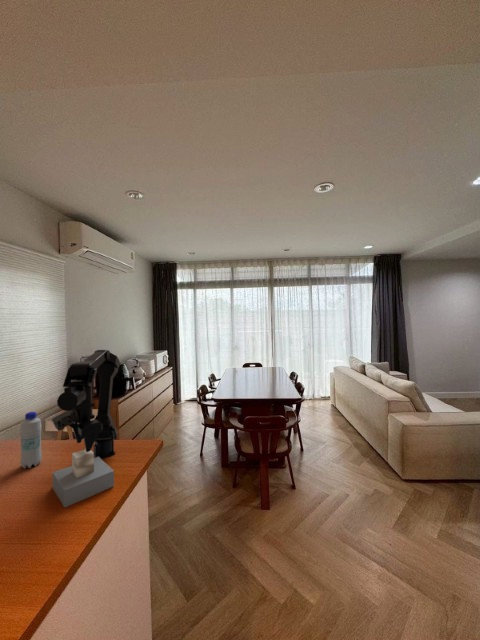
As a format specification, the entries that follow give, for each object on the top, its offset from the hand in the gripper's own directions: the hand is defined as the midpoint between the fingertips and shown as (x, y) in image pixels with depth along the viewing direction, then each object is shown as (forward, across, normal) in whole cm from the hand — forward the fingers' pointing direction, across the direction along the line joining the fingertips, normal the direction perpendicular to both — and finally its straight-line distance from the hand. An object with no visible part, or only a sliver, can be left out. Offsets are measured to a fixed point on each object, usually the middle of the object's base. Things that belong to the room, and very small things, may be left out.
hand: (83, 447), depth 92 cm
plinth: (+12, +3, -1) cm, 12 cm away
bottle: (+12, -27, -10) cm, 31 cm away
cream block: (+7, +3, -1) cm, 7 cm away
